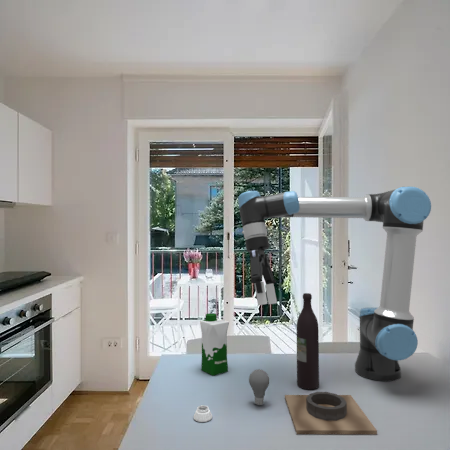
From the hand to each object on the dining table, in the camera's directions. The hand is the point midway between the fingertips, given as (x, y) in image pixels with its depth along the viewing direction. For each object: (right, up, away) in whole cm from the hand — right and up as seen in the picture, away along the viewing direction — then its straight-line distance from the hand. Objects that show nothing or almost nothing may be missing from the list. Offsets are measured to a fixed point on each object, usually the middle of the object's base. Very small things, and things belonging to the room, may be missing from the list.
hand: (268, 304), depth 116 cm
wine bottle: (+14, -28, +6) cm, 32 cm away
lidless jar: (-19, -28, -15) cm, 37 cm away
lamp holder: (+15, -28, -13) cm, 34 cm away
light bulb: (-3, -28, -7) cm, 29 cm away
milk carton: (-17, -28, +19) cm, 38 cm away
